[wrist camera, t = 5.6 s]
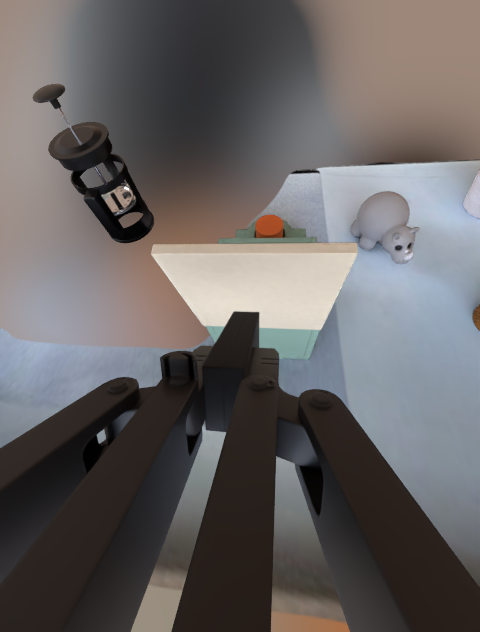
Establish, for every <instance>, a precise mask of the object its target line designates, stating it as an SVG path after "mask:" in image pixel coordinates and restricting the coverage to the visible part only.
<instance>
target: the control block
mask: <svg viewBox="0 0 480 632" xmlns="http://www.w3.org/2000/svg"><path fill="white" fill-rule="evenodd" d="M282 221H283V238H306V229H292V228H291V227H290V226H289V224H288V223H287V222H286V221H284V220H282ZM256 222H257V221H256ZM256 222H254V223H253V224H252V226H251V227H250V228H249V229H245V230H237V231H236V238H256V228H255V225H256Z"/></svg>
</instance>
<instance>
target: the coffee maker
mask: <svg viewBox="0 0 480 632" xmlns="http://www.w3.org/2000/svg"><path fill="white" fill-rule="evenodd" d="M256 243H317V241H316V237H310V238H233V239H231V238H230V239H229V238H227V239H219V240H218V244H256ZM206 327H207V329H208V331H209V333H210V335H211V337H212V339H213V340H214V342H215V343H216V341H217V339H218V337H219V336H220V334H221V332H222V331H223V329H224V326H206ZM319 331H320V330H306V329H279V328H259V348H275V349H276V350H277V352H278V353H279V358H283V359H303V360H309V358H310V355H311V353H312V350H313V347H314V344H315V342H316V339H317V336H318V334H319Z"/></svg>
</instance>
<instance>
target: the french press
mask: <svg viewBox="0 0 480 632" xmlns="http://www.w3.org/2000/svg"><path fill="white" fill-rule="evenodd" d="M64 91H65V87H64V86H63V85H61V84H51V85H47V86H44V87H42V88H40V89H39V90H38V91H36V92H35V94H34V96H33V100H34V101H35V102H38V103H43V102H48V101H50V102H51V104H52V105H53V107H54V108H55V109H58V111H59V112H60V114H61V116H62V117H63V119H64V120H65V122H66V124H67V125H68V127H69V128H67V129H65V130H63V131H62V132H60V133H59V134H58V135H57V136H55V137H54V138H53V140H52V141H51V142H50V145H49V149H48V150H49V153H50V155H51V156H52V157H53V158H55V159H57V160H59V161H60V163H61V164H62V165H63V167H64V168H66V169H68V170H71V171H73V172H72V174H71V182H72V184H73V185H74V187H75V188H76V189H77V190H78V192H79V193H81V194H83V195H85V196H84V201H85V202H86V204H87V205H88V206H89V208H90V209H91V210H92V211H93V213H94V214H95V216H96V217H97V218H98V219H99V221H100V222H101V224H102V225H103V226H104V228H105V229H106V230H107V232H108V233H109V235H110V236H111V238H112V239H114V240H115V241H117V242H120V243H131V242H134V241H137V240H140V239H141V238H143V237H144V236H146V235H147V234H148V233H149V232H150V231H151V229H152V227H153V225H154V217H153V215H152V213H151V212H150V211H149V209H148V207H147V205H146V204H145V202H144V201H143V200H142V198H141V196H140V194H139V192H138V190H137V188H136V186H135V184H134V183H133V180H132V178H131V177H130V175H129V173H128V169H127V167H126V165H125V163H124V161H123V159H122V158H121V157H120V156H118V155H116V154H112V153H111V151H112V144H111V142H110V140H109V138H108V135H109V133H108V130H107V128H106V127H105V126H104V125H103V124H100V123H96V122H86V123H81V124H77V125H74V126H71V125H70V123H69V122H68V121H67V119H66V117H65V115H64V114H63V112H62V111H61V109H60V107H61V105H60V103H59V102H58V100H57V98H58V97H59V96H61V95H62V94H63V93H64ZM113 161H116V162H120V163H122V164H123V167H122V170H121V172H120V173H119V172H118V170H117V168H116V166H115V164H114V162H113ZM102 162H103V163H104V165H105V166H106V168H107V170H108V172H109V173H110V175H111V177H112V178H113V180H111V181H110V182H108V183H106V181H105V180H104V178H103V177H102V175H101V173H100V172H99V170H98V169H97V167H96V165H98V164H100V163H102ZM92 167H94V168H95V170H96V171H97V173H98V174H99V176H100V177H101V179H102V180H103V182H104V185H102V186H99V187H95V188H87V187H86V185H85V184H84V182H83V181H82V180H81V178H80V176H81V175H82V174H83V173H84V172H85V171H86V170H87V169H89V168H92ZM125 179H126V181H127V183H128V184H125V182H124V180H125ZM132 212H140V213H143V214H144V215H143V216H142V218H141V219H140V220H139V221H138V222H136V223H135V224H133V225H131V226H129V227H127V228H123V227H122V226H121V224H120V222H119V221H118V220H119V219H120V218H121V217H122V216H124V215H126V214H128V213H132Z"/></svg>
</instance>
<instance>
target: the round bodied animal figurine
mask: <svg viewBox="0 0 480 632" xmlns="http://www.w3.org/2000/svg"><path fill="white" fill-rule="evenodd" d="M409 213H410V212H409V206H408V203H407V201H406V200H405V199H404V198H403V197H402V196H401V195H399V194H397V193H395V192H388V191H387V192H380V193H377V194H374V195H373V196H371V197H369V198H368V199H367V200H366V201H365V202H364V203H363V204H362V206H361V207H360V209H359V211H358V214H357V219H356V220H355V221H354V222H353V224H352V226H351V229H350V232H351V234H352V235H354V236H357V237H361V236H362V237H361V238H360V241H359V246H360V248H362V249H364V250H371V249H373V248H374V247H375V245H376V242H377V241H378V243H380V244H381V245H383V248H384V249H385V250H386V251H387V252H389V253H390V254H391V258H392V260H393V261H394V262H395V263H397V264H404V263H407V262H408V261H409V260H411V259H412V256H413V244H414V240H415V234H416V233H417V232H418V230H419V229H420V228H419V227H415V228H410V227H408V226H406V224H407V222H408V219H409Z"/></svg>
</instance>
